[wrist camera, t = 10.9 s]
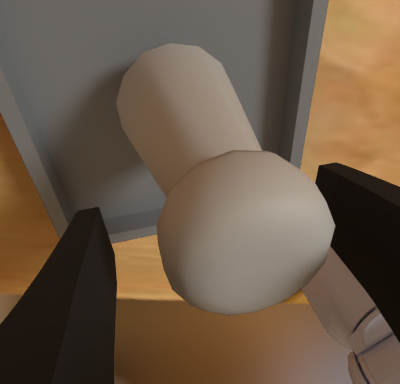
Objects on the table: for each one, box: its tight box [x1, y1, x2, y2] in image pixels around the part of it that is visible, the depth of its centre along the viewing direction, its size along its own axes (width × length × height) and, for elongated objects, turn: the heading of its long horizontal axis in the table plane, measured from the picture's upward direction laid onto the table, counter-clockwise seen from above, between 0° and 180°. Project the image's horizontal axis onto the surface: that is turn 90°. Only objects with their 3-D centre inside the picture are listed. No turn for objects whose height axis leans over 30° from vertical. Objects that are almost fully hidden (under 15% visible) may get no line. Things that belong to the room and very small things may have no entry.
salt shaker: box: [116, 43, 335, 315], centre depth 12 cm, size 6×6×13 cm
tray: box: [0, 0, 329, 244], centre depth 17 cm, size 16×16×2 cm
